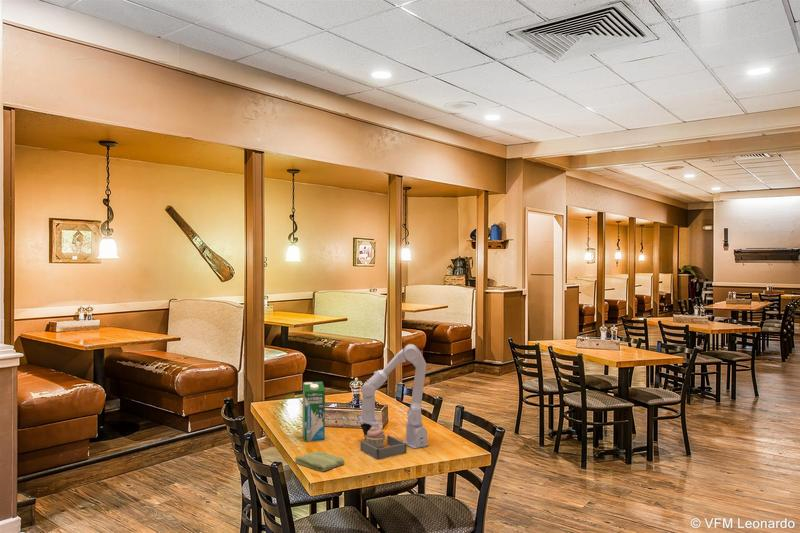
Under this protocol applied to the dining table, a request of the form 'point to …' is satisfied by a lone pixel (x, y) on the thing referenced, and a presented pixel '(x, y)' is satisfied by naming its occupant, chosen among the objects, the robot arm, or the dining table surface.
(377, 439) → the cupcake
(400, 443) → the box
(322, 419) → the milk carton
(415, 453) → the dining table surface
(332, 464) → the washcloth
